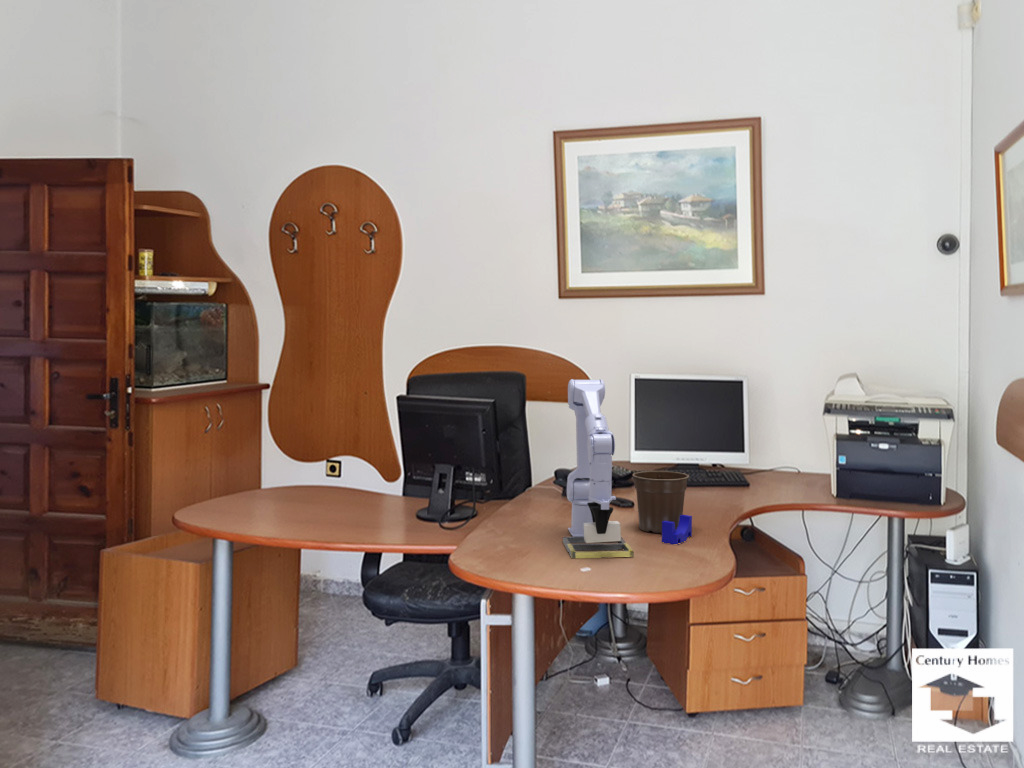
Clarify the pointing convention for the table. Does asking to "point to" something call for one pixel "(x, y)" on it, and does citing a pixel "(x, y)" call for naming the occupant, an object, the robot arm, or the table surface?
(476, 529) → the table surface
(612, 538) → the white banded pillar
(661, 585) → the table surface
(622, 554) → the rack
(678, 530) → the cable clip
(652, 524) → the plant pot
